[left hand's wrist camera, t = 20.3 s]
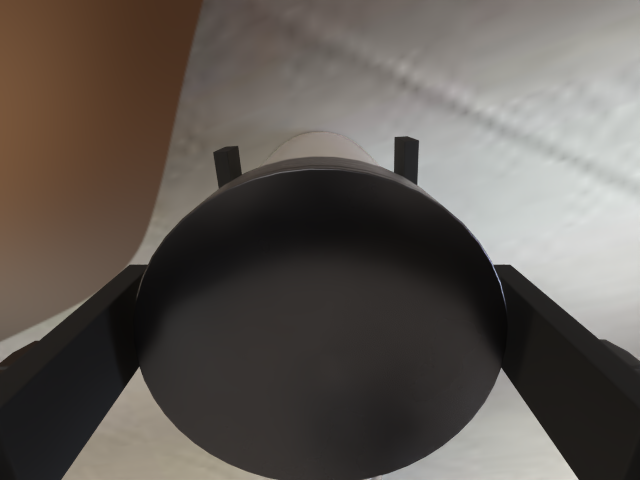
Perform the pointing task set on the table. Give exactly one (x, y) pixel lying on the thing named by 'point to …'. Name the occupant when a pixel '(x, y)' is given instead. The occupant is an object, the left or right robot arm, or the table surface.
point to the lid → (320, 322)
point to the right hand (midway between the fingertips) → (315, 143)
